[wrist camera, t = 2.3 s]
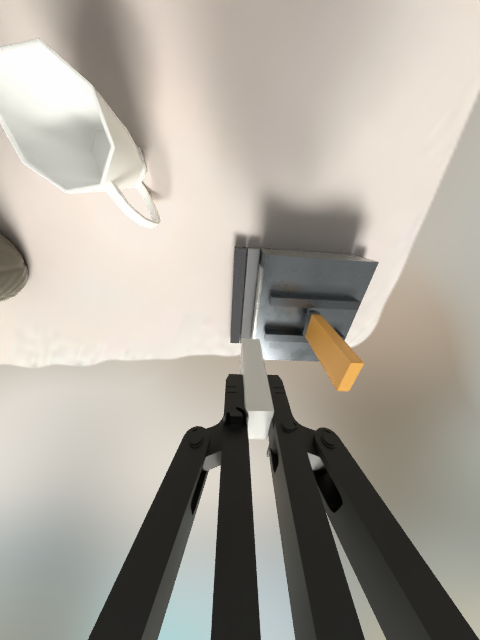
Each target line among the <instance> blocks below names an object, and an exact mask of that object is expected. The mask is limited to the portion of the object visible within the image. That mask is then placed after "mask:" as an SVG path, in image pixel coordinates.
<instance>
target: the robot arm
mask: <svg viewBox="0 0 480 640" xmlns="http://www.w3.org/2000/svg"><path fill="white" fill-rule="evenodd" d="M240 372H241V374H239V375H237V374H229V376H228V377H227V379H226V389H225V406H224V416H223V418H222V420H221V421H220V422H219V423H218V424H217V425H215V426H213V427H210V428H207V429H205V428H203V427H199V426H196V427H193V428H191V429H190V430H188V431H187V432H186V434H185V435H184V437H183V439H182V441H181V443H180V445H179V448H178V450H177V452H176V454H175V456H174V458H173V460H172V462H171V465H170V467H169V469H168V471H167V473H166V475H165V477H164V479H163V482H162V484H161V486H160V488H159V490H158V492H157V494H156V497H155V499H154V501H153V503H152V505H151V507H150V509H149V511H148V513H147V516H146V518H145V520H144V522H143V524H142V526H141V528H140V530H139V532H138V535H137V537H136V539H135V541H134V543H133V545H132V547H131V550H130V552H129V554H128V556H127V558H126V560H125V562H124V564H123V566H122V569H121V571H120V573H119V575H118V577H117V579H116V581H115V583H114V585H113V588H112V590H111V592H110V594H109V596H108V599H107V601H106V602H105V605H104V607H103V609H102V611H101V613H100V615H99V617H98V620H97V622H96V624H95V626H94V628H93V630H92V632H91V634H90V636H89V639H88V640H157V639H158V636H159V633H160V629H161V626H162V623H163V620H164V616H165V613H166V609H167V606H168V603H169V600H170V597H171V593H172V590H173V586H174V583H175V580H176V577H177V573H178V570H179V567H180V564H181V560H182V557H183V554H184V550H185V547H186V544H187V541H188V537H189V534H190V531H191V527H192V524H193V521H194V518H195V514H196V511H197V508H198V504H199V501H200V498H201V495H202V491H203V488H204V485H205V481H206V478H207V474H208V471H209V470H210V469H212V468H215V467H217V466H219V465H221V472H220V490H219V508H218V525H217V542H216V559H215V578H214V593H213V611H212V630H211V640H261V636H260V620H259V603H258V588H257V571H256V555H255V539H254V523H253V506H252V491H251V474H250V460H249V459H250V458H249V441H248V439H267V437H268V436H269V447H268V451H267V457H270V464H271V471H272V478H273V485H274V492H275V499H276V506H277V513H278V520H279V527H280V534H281V541H282V548H283V555H284V562H285V569H286V577H287V584H288V591H289V598H290V604H291V611H292V619H293V626H294V631H295V632H294V633H295V640H365V639H364V636H363V632H362V629H361V626H360V623H359V619H358V616H357V613H356V609H355V607H354V603H353V600H352V597H351V593H350V590H349V587H348V583H347V580H346V577H345V574H344V570H343V567H342V564H341V561H340V558H339V555H338V551H337V548H336V544H335V541H334V538H333V535H332V531H331V528H330V525H329V522H328V519H327V515H328V517H329V519H330V521H331V524H332V526H333V527H334V530H335V532H336V534H337V536H338V538H339V540H340V542H341V544H342V546H343V549H344V551H345V553H346V555H347V557H348V559H349V561H350V564H351V566H352V568H353V570H354V572H355V574H356V576H357V578H358V580H359V582H360V585H361V587H362V589H363V591H364V593H365V595H366V597H367V599H368V601H369V604H370V606H371V608H372V610H373V612H374V614H375V616H376V618H377V620H378V622H379V625H380V627H381V629H382V631H383V633H384V635H385V637H386V639H387V640H479V639H478V637H477V636H476V634H475V633H474V631H473V630H472V628H471V627H470V626H469V624H468V623H467V621H466V620H465V618H464V617H463V616H462V614H461V613H460V611H459V610H458V608H457V607H456V605H455V604H454V603H453V601H452V600H451V598H450V597H449V595H448V594H447V592H446V591H445V590H444V588H443V587H442V585H441V584H440V582H439V581H438V580H437V578H436V577H435V575H434V574H433V573H432V571H431V570H430V568H429V567H428V565H427V564H426V562H425V561H424V560H423V558H422V557H421V555H420V554H419V552H418V551H417V549H416V548H415V547H414V545H413V544H412V542H411V541H410V539H409V538H408V537H407V535H406V534H405V532H404V531H403V529H402V528H401V526H400V525H399V523H398V522H397V521H396V519H395V518H394V516H393V515H392V514H391V512H390V510H389V509H388V508H387V506H386V505H385V503H384V502H383V500H382V499H381V497H380V496H379V495H378V493H377V492H376V491H375V489H374V487H373V486H372V485H371V483H370V482H369V480H368V479H367V477H366V476H365V474H364V473H363V472H362V470H361V469H360V467H359V466H358V464H357V463H356V461H355V460H354V459H353V457H352V456H351V454H350V453H349V451H348V450H347V448H346V447H345V446H344V444H343V443H342V441H341V440H340V438H339V437H338V436H337V435H336V434H335V433H334V432H333V431H331V430H330V429H327V428H319V429H317V430H316V431H315V430H312V429H309V428H306V427H304V426H302V425H300V424H299V423H298V422H297V421H296V420H295V419H294V417H293V415H292V413H291V410H290V406H289V403H288V399H287V396H286V392H285V389H284V385H283V382H282V380H281V379H280V377H279V376H278V375H267V374H266V369H265V364H264V359H263V354H262V349H261V344H260V339H243V338H242V346H241V358H240ZM325 511H326V512H325ZM326 513H327V515H326Z"/></svg>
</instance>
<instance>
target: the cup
mask: <svg viewBox="0 0 480 640" xmlns="http://www.w3.org/2000/svg"><path fill="white" fill-rule="evenodd" d="M0 124H1V126H2V128H3V130H4V131H5V133H6V135H7V137H8V138H9V140H10V142H11V144H12V145H13V147H14V149H15V151H16V152H17V154H18V156H19V158H20V159H21V161H22V163H23V164H24V165H25V166H27V167H28V168H30V169H31V170H33V171H34V172H36V173H37V174H39V175H40V176H42V177H43V178H45V179H46V180H48V181H49V182H51V183H52V184H54V185H55V186H57V187H58V188H59V189H61V190H62V191H64V192H65V193H67V194H70V193H86V192H107V193H108V195H109V196H110V197H111V198H112V200H113V201H114V202H115V203H116V204H117V206H118V207H119V208H120V209H121V210H122V211H123V212H124V213H125V214H126V215H127V216H128V217H129V218H131V219H132V220H133V221H135V222H136V223H138V224H139V225H141V226H144V227H147V228H154V227H156V226H157V225H158V224H159V223H160V217H159V214H158V211H157V209H156V207H155V204H154V202H153V200H152V198H151V196H150V194H149V192H148V190H147V189H146V187H145V186H144V184H143V183H142V182H143V180H144V177H145V175H146V172H147V168H146V165H145V162H144V158H143V155H142V152H141V149H140V148H139V147H138V146H137V145H136V144H135V142H134V140H133V139H132V137H131V135H130V133H129V132H128V130H127V128H126V127H125V126H124V125H123V123H122V122H121V121H120V120H119V118H118V117H117V116H116V115H115V113H114V112H113V111H112V110H111V108H110V107H109V106H108V104H107V103H106V102H105V100H104V99H103V98H102V96H101V95H100V94H99V93H98V91H97V90H96V89H95V88H94V86H93V85H92V84H91V83H89V82H88V81H87V80H86V79H85V78H84V77H83V76H82V75H80V74H79V73H78V72H77V71H76V70H75V69H74V68H73V67H71V66H70V65H69V64H68V63H67V62H66V61H65V60H63V59H62V58H61V57H60V56H59V55H58V54H57V53H56V52H54V51H53V50H52V49H51V48H50V47H49V46H48V45H47V44H45V43H44V42H43V41H42V40H41V39H40V38H38V39H34V40H29V41H24V42H20V43H15V44H11V45H6V46H1V47H0ZM134 187H136V188H137V189H138V190H139V192H140V193H141V195H142V197H143V199H144V201H145V203H146V205H147V207H148V210H149V212H150V215H151V218H152V220H150V219H147V218H145V217H144V216H143V215H141V214H140V213H139V212H138V211H136V210H135V209H134V208H133V207H132V206H131V205H130V204H129V203H128V201H127V200H126V198H125V197H124V195H123V194H122V192H121V191H120V189H128V188H134Z"/></svg>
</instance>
